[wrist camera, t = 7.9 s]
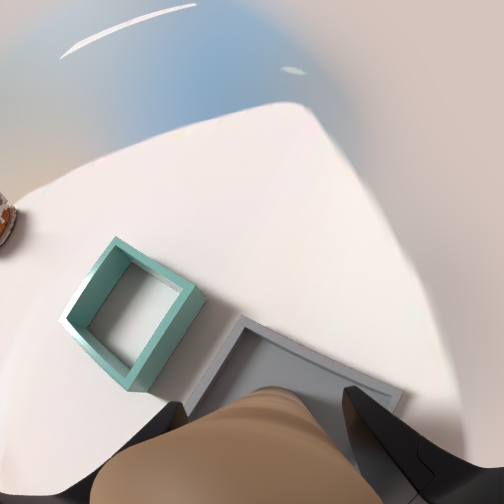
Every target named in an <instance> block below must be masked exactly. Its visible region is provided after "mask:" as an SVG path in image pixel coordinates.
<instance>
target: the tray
mask: <svg viewBox="0 0 504 504" xmlns="http://www.w3.org/2000/svg"><path fill="white" fill-rule="evenodd" d="M351 385H356V386H358V387H359V388H360V389H361V390H363V391H364V392H365V393H366V394H368V395H369V396H370V397H372V398H373V399H374V400H375V401H377V402H378V403H379V404H381V405H382V406H383V407H384V408H386V409H387V410H388V411H390V412H391V413H392V414H393V412H394V410H395V408H396V406H397V404H398V401H399V399H400V397H401V395H402V392H403V390H400V389H398V388H395V387H393V386H391V385H388V384H386V383H383V382H381V381H379V380H376V379H374V378H371V377H369V376H367V375H365V374H362V373H360V372H358V371H355V370H353V369H351V368H349V367H346V366H344V365H342V364H340V363H338V362H336V361H333V360H331V359H329V358H327V357H325V356H323V355H321V354H318V353H316V352H314V351H312V350H310V349H308V348H306V347H304V346H302V345H300V344H298V343H296V342H294V341H292V340H290V339H288V338H286V337H284V336H282V335H280V334H278V333H276V332H274V331H272V330H270V329H268V328H266V327H264V326H262V325H261V324H259V323H257V322H255V321H253V320H251V319H249V318H247V317H246V316H244V315H241V317H240V318H239V320H238V321H237V323H236V325H235V326H234V328H233V330H232V331H231V333H230V334H229V336H228V338H227V339H226V341H225V342H224V344H223V346H222V347H221V349H220V351H219V352H218V354H217V355H216V357H215V358H214V360H213V362H212V363H211V365H210V366H209V368H208V370H207V371H206V373H205V374H204V376H203V377H202V379H201V381H200V382H199V384H198V385H197V387H196V388H195V390H194V392H193V393H192V395H191V396H190V398H189V399H188V401H187V402H186V404H185V405H184V409H185V411H186V413H187V416H188V424H189V423H191V422H193V421H195V420H198V419H200V418H202V417H204V416H206V415H208V414H210V413H212V412H214V411H217V410H219V409H221V408H223V407H225V406H227V405H229V404H230V403H232V402H234V401H236V400H238V399H240V398H242V397H244V396H246V395H247V394H249V393H251V392H253V391H255V390H257V389H259V388H262V387H267V386H277V387H282V388H285V389H287V390H290V391H291V392H293V393H294V394H295V395H297V397H298V398H299V399H300V400H301V401H302V403H303V404H304V405H305V407H306V408H307V409H308V411H309V412H310V413H311V414H312V416H313V417H314V418H315V420H316V421H317V422H318V423H319V425H320V426H321V427H322V428H323V430H324V431H325V432H326V434H327V435H328V436H329V437H330V439H331V440H332V441H333V442H334V443H335V445H336V446H337V447H338V448H339V450H340V451H341V452H342V453H343V454H344V456H345V457H346V458H347V459H348V460H349V462H350V463H351V464H352V465H353V466H354V468H355V469H356V470H357V471H358V472H359V473H360V471H359V468H358V465H357V462H356V460H355V457H354V454H353V451H352V448H351V445H350V442H349V438H348V433H347V428H346V423H345V418H344V414H343V409H342V396H343V389H344V387H346V386H351Z"/></svg>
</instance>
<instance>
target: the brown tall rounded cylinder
mask: <svg viewBox="0 0 504 504" xmlns="http://www.w3.org/2000/svg"><path fill="white" fill-rule="evenodd" d="M90 504H383V502H382V500H381V499H380V497H379V496H378V495H377V494H376V492H375V491H374V490H373V488H372V487H371V486H370V485H369V484H368V483H367V482H366V480H365V479H364V478H363V477H362V476H361V475H360V473H359V472H358V471H357V470H356V469H355V468H354V466H353V465H352V464H351V463H350V462H349V460H348V459H347V458H346V457H345V456H344V454H343V453H342V452H341V451H340V450H339V448H338V447H337V446H336V445H335V443H334V442H333V441H332V440H331V439H330V437H329V436H328V435H327V434H326V432H325V431H324V430H323V428H322V427H321V426H320V425H319V423H318V422H317V421H316V420H315V418H314V417H313V416H312V414H311V413H310V412H309V411H308V409H307V408H306V407H305V405H304V404H303V403H302V401H301V400H300V399H299V398H298V397H297V395H295V394H294V393H293V392H291V391H290V390H287V389H285V388H282V387H277V386H267V387H262V388H259V389H257V390H255V391H253V392H251V393H249V394H247V395H246V396H244V397H242V398H240V399H238V400H236V401H234V402H232V403H230V404H229V405H227V406H225V407H223V408H221V409H219V410H217V411H214V412H212V413H210V414H208V415H206V416H204V417H202V418H200V419H198V420H195V421H193V422H191V423H189V424H186V425H184V426H182V427H179V428H177V429H175V430H172V431H170V432H167V433H165V434H162V435H160V436H157V437H155V438H152V439H149V440H147V441H144V442H141V443H139V444H136V445H133V446H130V447H129V448H127V449H125V450H123V451H121V452H119V453H118V454H116V455H115V456H114V457H113V458H111V459H110V460H109V461H108V462H107V463H106V464H105V465H104V466H103V467H102V469H101V470H100V471H99V472H98V474H97V476H96V478H95V480H94V482H93V486H92V489H91V493H90Z"/></svg>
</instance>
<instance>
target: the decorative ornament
mask: <svg viewBox="0 0 504 504" xmlns="http://www.w3.org/2000/svg"><path fill="white" fill-rule="evenodd" d="M6 203H7V199H6V198H5V197H4V196H3V195H2V194H1V192H0V245H1V243H2V244H3V243H4V241H5V240H6V238H7V237H8V235H9V234H10V232H11V231H10V229H11V228H12V227H13V225H14V221H15V217H16V214H15V213H16V211H17V210H16V209H15V207H14V206H13V205H11V206H8V205H7V204H6Z"/></svg>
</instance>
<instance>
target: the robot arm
mask: <svg viewBox="0 0 504 504" xmlns="http://www.w3.org/2000/svg"><path fill="white" fill-rule="evenodd" d="M342 409H343V414H344V418H345V423H346V428H347V433H348V438H349V442H350V445H351V448H352V451H353V454H354V457H355V460H356V462H357V465H358V468H359V471H360V474H361V476H362V477H363V478H364V479H365V480H366V482H367V483H368V484H369V485H370V486H371V487H372V488H373V490H374V491H375V492H376V494H377V495H378V496H379V497H380V499H381V500H382V502H383V504H504V467H499V468H482V467H478V466H475V465H473V464H471V463H469V462H466V461H464V460H462V459H460V458H458V457H456V456H454V455H452V454H450V453H448V452H447V451H445V450H443V449H441V448H440V447H438V446H436V445H435V444H433V443H432V442H430V441H429V440H427V439H426V438H425V437H423V436H422V435H421V436H420V434H419V433H418V432H416V431H415V430H414V429H412V428H411V427H410V426H408V425H407V424H406V423H404V422H403V421H402V420H400V419H399V418H398V417H396V416H395V415H394V414H392V413H391V412H390V411H388V410H387V409H386V408H384V407H383V406H382V405H381V404H379V403H378V402H377V401H375V400H374V399H373V398H372V397H370V396H369V395H368V394H366V393H365V392H364V391H363V390H361V389H360V388H359V387H358V386H356V385H351V386H346V387H344V389H343V396H342ZM186 424H188V416H187V413H186V411H185V409H184V407H183V404H182V403H181V402H177V401H171V402H169V403H168V404H167V405H166V406H165V407H164V408H163V409H162V410H161V411H159V412H158V413H157V414H156V415H155V416H154V417H153V418H152V419H151V420H150V421H149V422H148V423H147V424H146V425H145V426H144V427H143V428H142V429H141V430H140V431H139V432H138V433H137V434H135V435H134V436H133V437H132V438H131V439H130V440H129V441H128V442H127V443H126V444H125V445H124V446H123V447H121V448H120V449H119V450H118V451H117V452H116V453H115V454H114V455H113V456H112V457H111V458H113V457H114V456H115V455H116V454H118V453H119V452H121V451H123V450H125V449H127V448H129V447H130V446H133V445H136V444H139V443H141V442H144V441H147V440H149V439H152V438H155V437H157V436H160V435H162V434H165V433H167V432H170V431H172V430H175V429H177V428H179V427H182V426H184V425H186ZM111 458H109V459H108V460H107V461H106V462H105V463H104V464H102V465H101V466H100V467H99V468H97V469H96V470H95V471H94V472H92V473H91V474H90V475H88V476H87V477H85V478H84V479H82V480H81V481H79V482H78V483H76V484H75V485H73V486H71V487H70V488H68V489H67V490H65V491H63V492H61V493H59V494H55V495H48V496H27V495H10V494H5V493H1V492H0V504H90V493H91V489H92V486H93V482H94V480H95V478H96V476H97V474H98V472H99V471H100V470H101V469H102V467H103V466H104V465H105V464H106V463H107V462H108V461H109V460H110V459H111Z"/></svg>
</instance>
